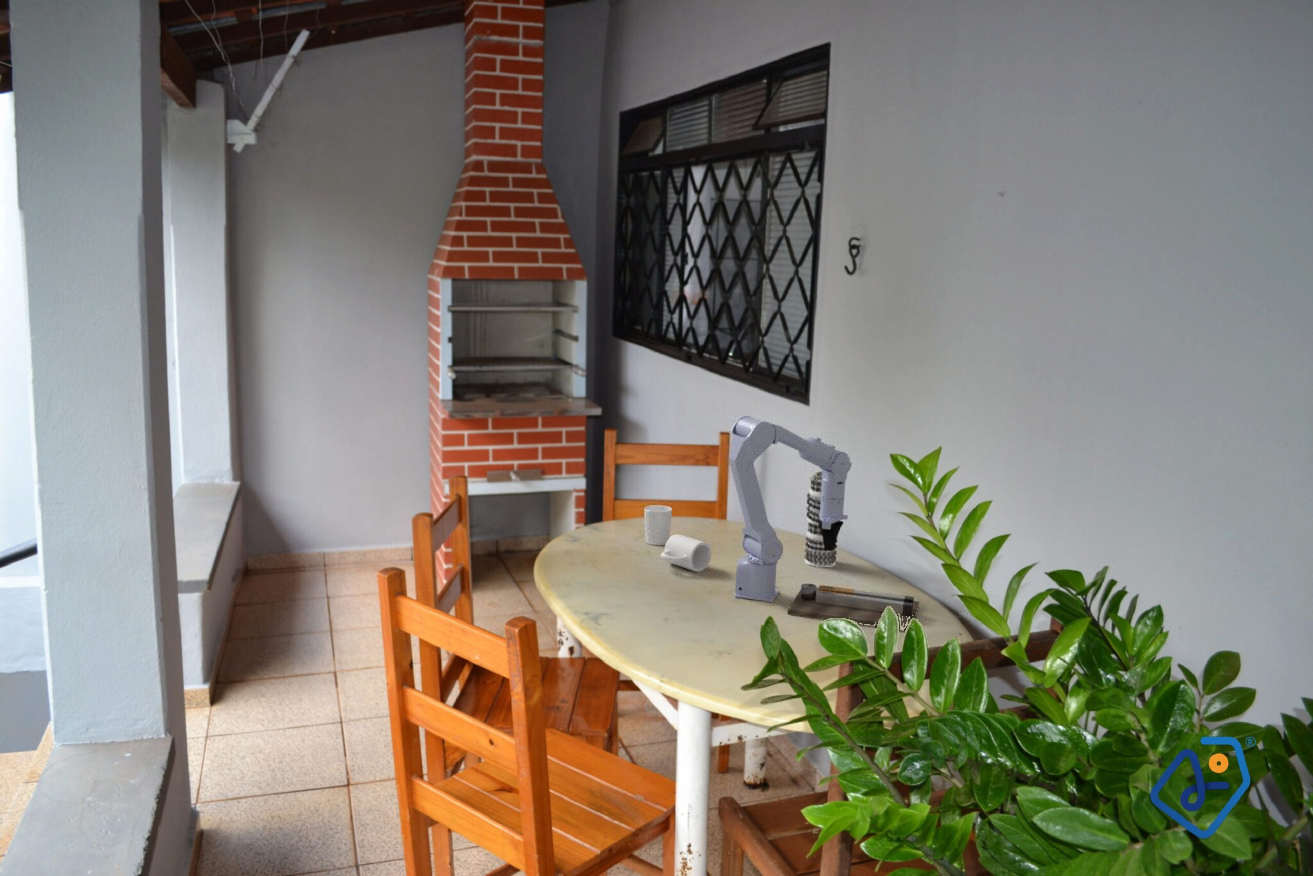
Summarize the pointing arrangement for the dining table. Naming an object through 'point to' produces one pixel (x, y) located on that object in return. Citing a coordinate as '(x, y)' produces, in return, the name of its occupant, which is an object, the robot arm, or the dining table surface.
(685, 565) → the mug
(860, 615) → the walnut board
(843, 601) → the grey long bar
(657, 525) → the white cup
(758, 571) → the robot arm
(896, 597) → the tong arm
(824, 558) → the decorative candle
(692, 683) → the dining table surface
